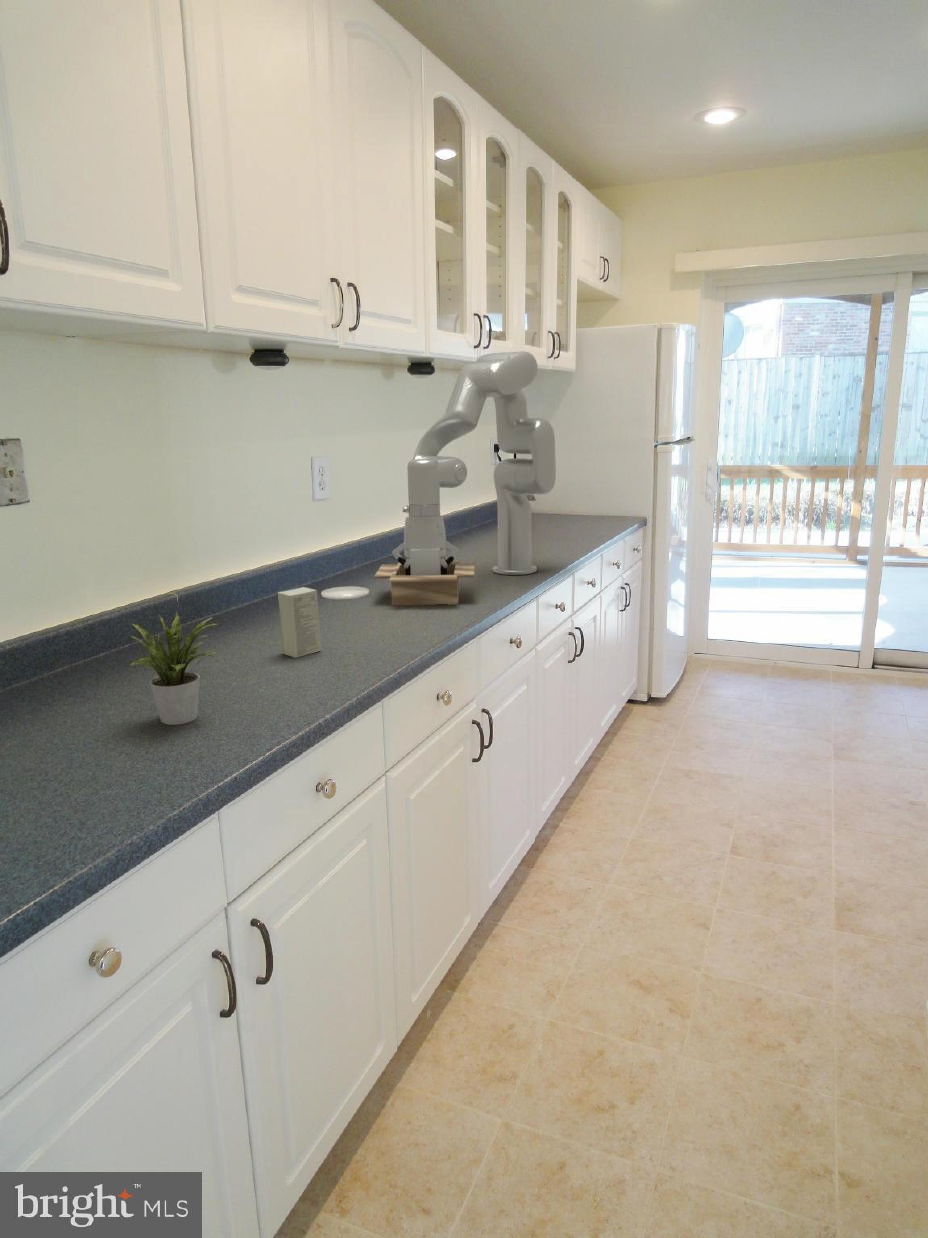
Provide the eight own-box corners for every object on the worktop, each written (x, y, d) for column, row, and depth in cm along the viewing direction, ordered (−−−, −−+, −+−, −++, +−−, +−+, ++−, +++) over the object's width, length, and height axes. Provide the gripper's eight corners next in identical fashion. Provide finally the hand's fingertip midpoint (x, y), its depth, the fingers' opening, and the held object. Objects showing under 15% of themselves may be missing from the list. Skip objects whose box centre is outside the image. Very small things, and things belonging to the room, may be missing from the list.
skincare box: (308, 647, 159) (304, 586, 156) (322, 651, 155) (318, 589, 152) (281, 654, 154) (276, 591, 151) (294, 658, 151) (289, 595, 148)
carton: (384, 588, 212) (383, 561, 210) (475, 587, 211) (474, 560, 209) (373, 609, 189) (371, 579, 187) (474, 608, 188) (474, 578, 187)
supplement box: (441, 600, 196) (439, 549, 193) (410, 601, 196) (408, 549, 193) (442, 594, 203) (441, 544, 200) (413, 594, 204) (411, 544, 201)
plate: (326, 589, 211) (326, 586, 211) (372, 589, 211) (371, 586, 211) (317, 599, 200) (317, 596, 199) (365, 599, 199) (365, 596, 199)
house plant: (246, 724, 119) (236, 616, 115) (147, 746, 112) (133, 631, 108) (217, 697, 131) (207, 599, 127) (126, 715, 123) (113, 611, 119)
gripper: (386, 513, 191) (389, 586, 196) (460, 512, 191) (461, 586, 195) (390, 509, 199) (392, 580, 203) (461, 508, 198) (462, 579, 202)
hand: (426, 582), depth 199 cm, fingers closed on supplement box, 7 cm apart
